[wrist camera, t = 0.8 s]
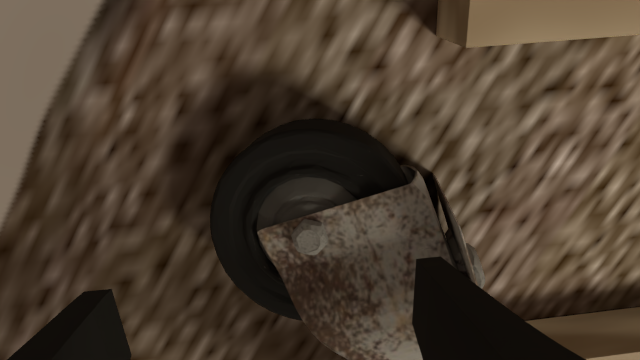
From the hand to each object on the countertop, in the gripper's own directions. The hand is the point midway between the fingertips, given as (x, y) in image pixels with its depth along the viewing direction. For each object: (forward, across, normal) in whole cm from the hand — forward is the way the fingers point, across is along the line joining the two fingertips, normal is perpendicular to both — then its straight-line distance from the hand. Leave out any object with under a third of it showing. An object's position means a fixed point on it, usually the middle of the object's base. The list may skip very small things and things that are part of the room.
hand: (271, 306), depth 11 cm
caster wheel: (+10, -3, +4) cm, 11 cm away
